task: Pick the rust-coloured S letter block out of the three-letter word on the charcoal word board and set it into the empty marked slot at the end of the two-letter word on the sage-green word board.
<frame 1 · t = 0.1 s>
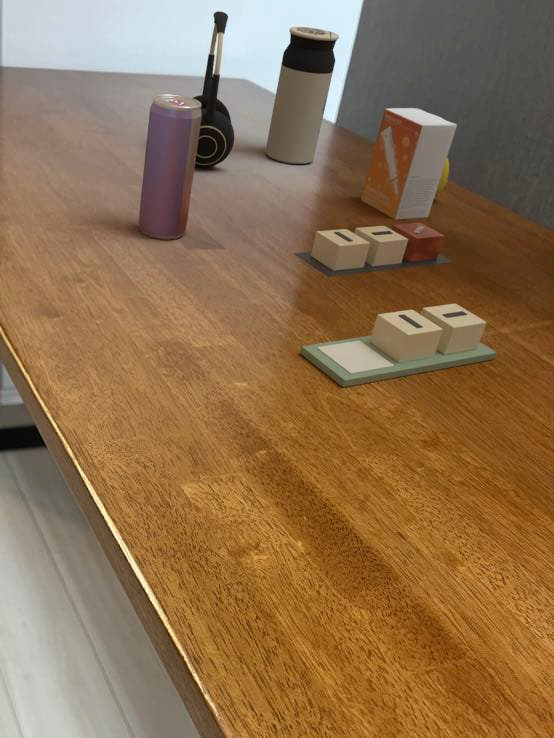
beverage can: (161, 233, 107), on the table
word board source: (373, 263, 106), on the table
s block: (411, 253, 108), point 1 cm above the table, touching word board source
small box: (392, 215, 123), on the table
headphones: (200, 162, 132), on the table
lemon: (419, 204, 128), on the table
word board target: (399, 356, 86), on the table
travel mug: (288, 158, 140), on the table
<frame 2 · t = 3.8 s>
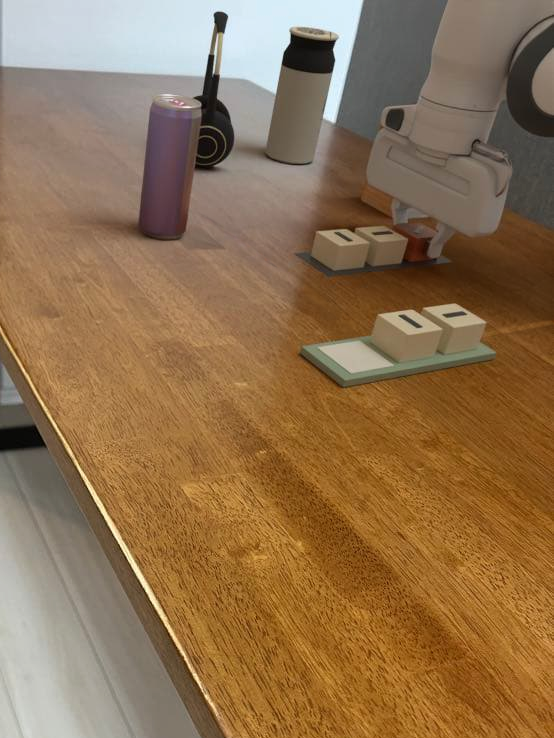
hand: (413, 246, 107), 2 cm above the table, tool pointing down, fingers closed on s block, 4 cm apart
s block: (411, 253, 108), point 1 cm above the table, touching gripper, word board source
everything else where it was.
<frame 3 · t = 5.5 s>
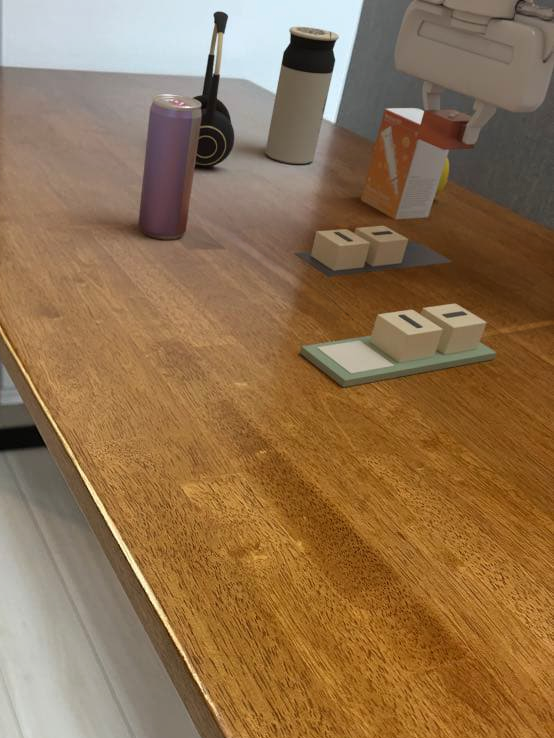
hand: (447, 134, 97), 15 cm above the table, tool pointing down, fingers closed on s block, 4 cm apart
s block: (444, 143, 98), point 14 cm above the table, touching gripper
everything else where it was.
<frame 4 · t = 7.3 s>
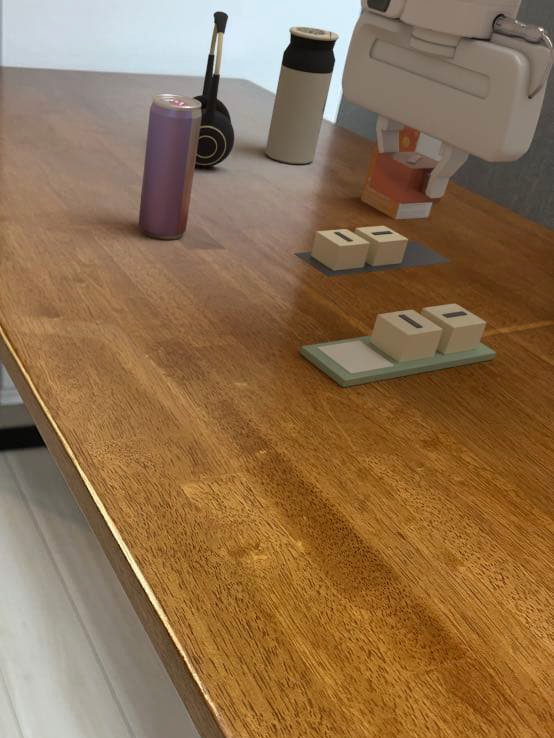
hand: (407, 184, 76), 16 cm above the table, tool pointing down, fingers closed on s block, 4 cm apart
s block: (404, 194, 77), point 15 cm above the table, touching gripper
everything else where it was.
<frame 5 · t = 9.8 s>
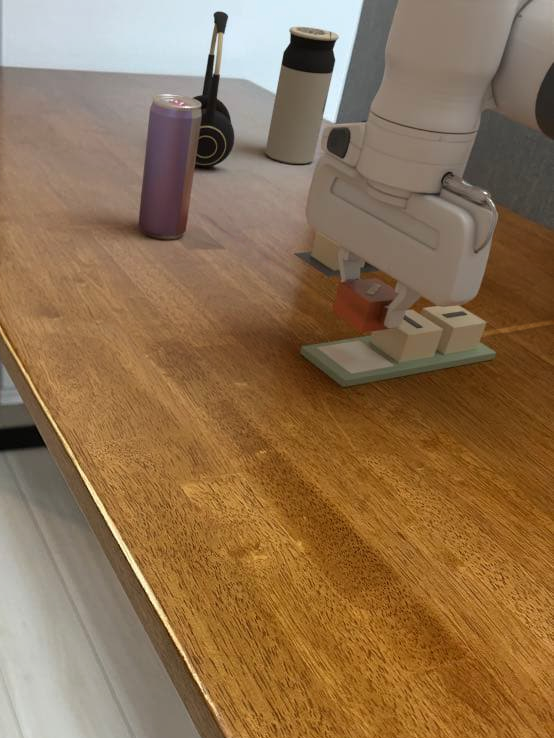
hand: (367, 310, 80), 6 cm above the table, tool pointing down, fingers closed on s block, 4 cm apart
s block: (365, 320, 81), point 5 cm above the table, touching gripper
everything else where it was.
when the fingers open (2 cm above the table, at t = 11.2 s): s block stays where it is, resting on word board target.
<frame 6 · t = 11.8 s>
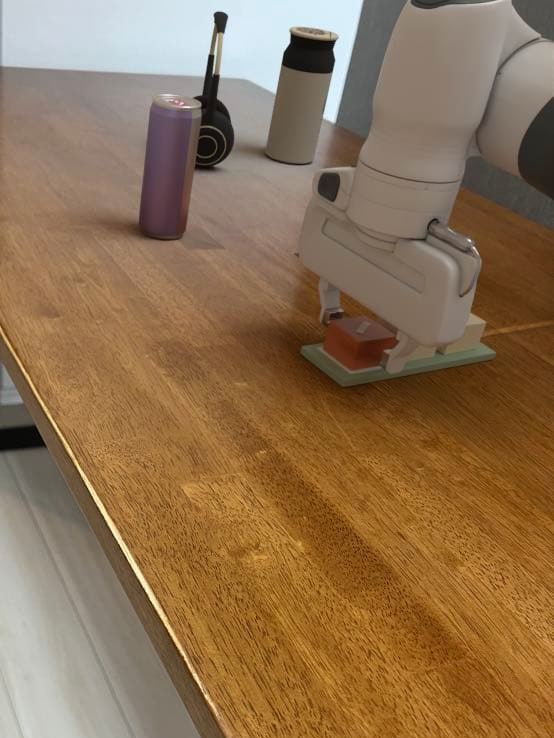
hand: (358, 346, 83), 2 cm above the table, tool pointing down, fingers open, 8 cm apart
s block: (354, 356, 83), point 1 cm above the table, touching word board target
everything else where it was.
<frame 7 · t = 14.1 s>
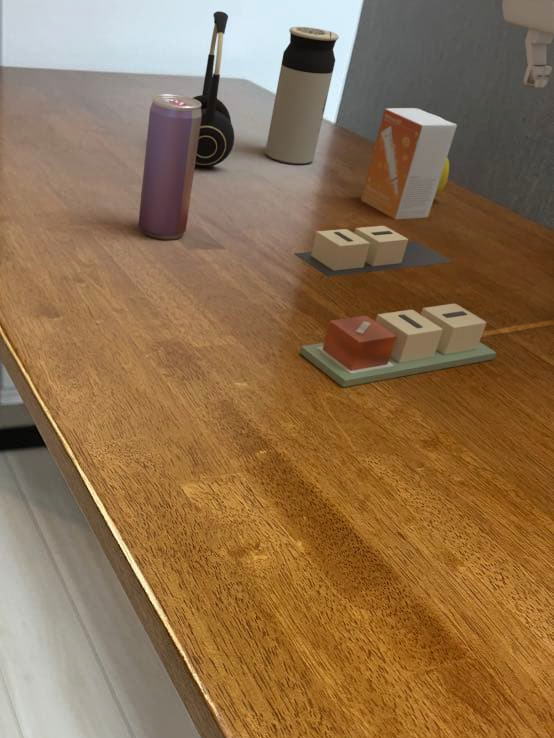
nothing on the table moved.
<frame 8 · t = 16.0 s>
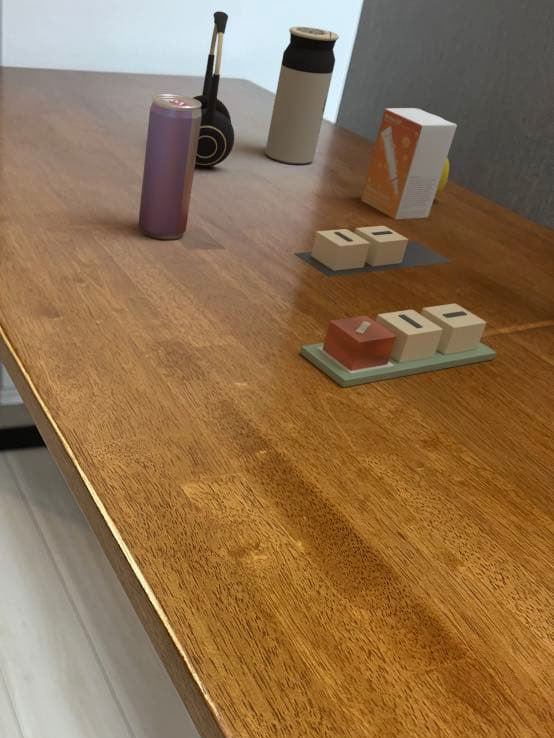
nothing on the table moved.
at the end: s block 0.1 cm from the target spot on the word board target, point 0.9 cm above the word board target's base; s block tilted 0°; the gripper is holding nothing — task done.
